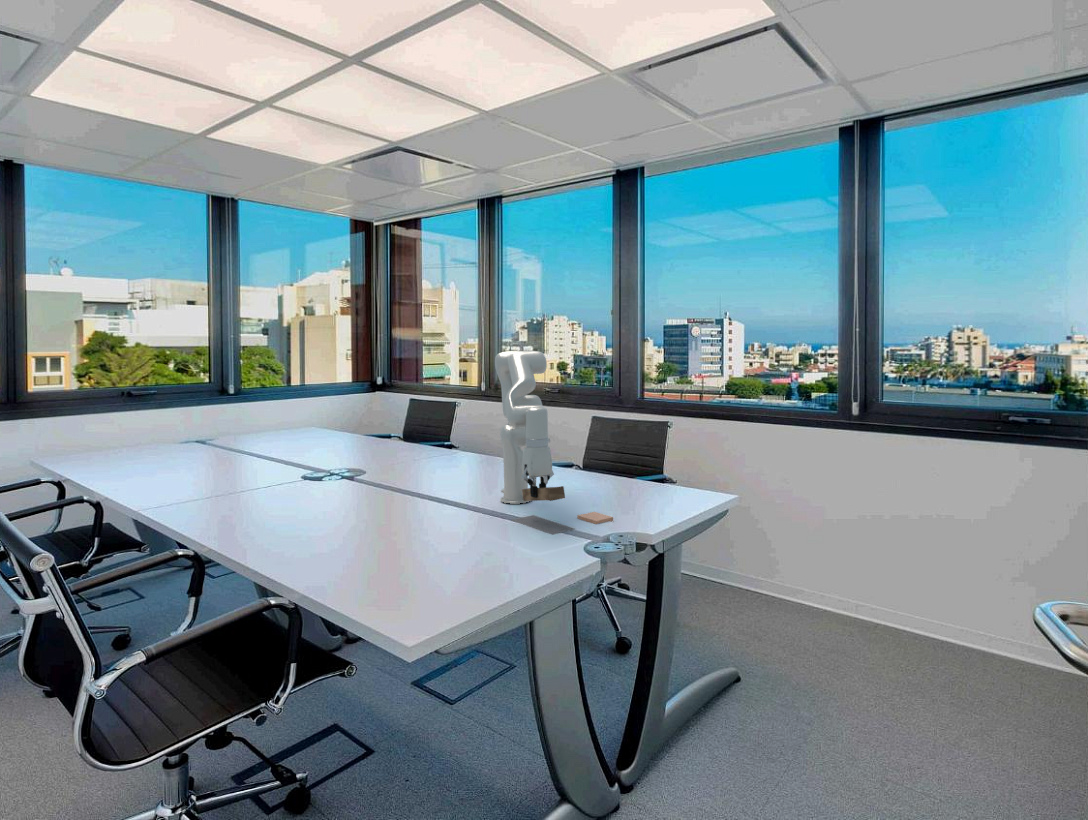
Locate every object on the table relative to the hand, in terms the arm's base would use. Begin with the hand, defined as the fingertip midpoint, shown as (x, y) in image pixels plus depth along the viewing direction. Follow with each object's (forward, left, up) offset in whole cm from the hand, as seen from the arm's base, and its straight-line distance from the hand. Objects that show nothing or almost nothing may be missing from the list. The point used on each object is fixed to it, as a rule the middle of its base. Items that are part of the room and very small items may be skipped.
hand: (538, 495), depth 224 cm
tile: (+4, +18, -10) cm, 21 cm away
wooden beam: (+2, 0, -1) cm, 2 cm away
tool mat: (+2, 0, -10) cm, 10 cm away
